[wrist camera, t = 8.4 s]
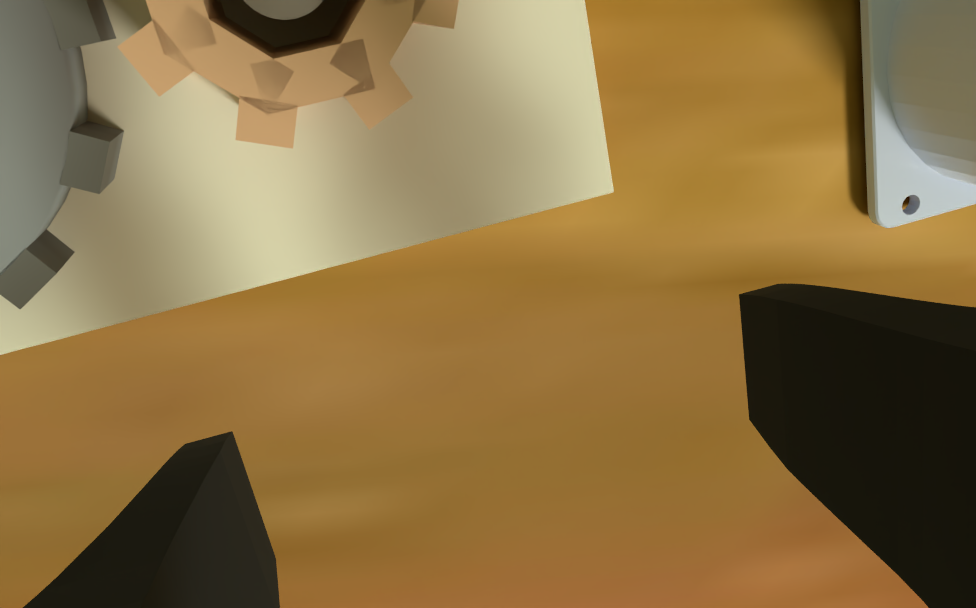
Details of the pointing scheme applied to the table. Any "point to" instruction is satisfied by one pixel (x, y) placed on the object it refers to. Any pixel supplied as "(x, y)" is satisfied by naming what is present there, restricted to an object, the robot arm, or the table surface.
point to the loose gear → (284, 60)
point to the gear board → (268, 157)
